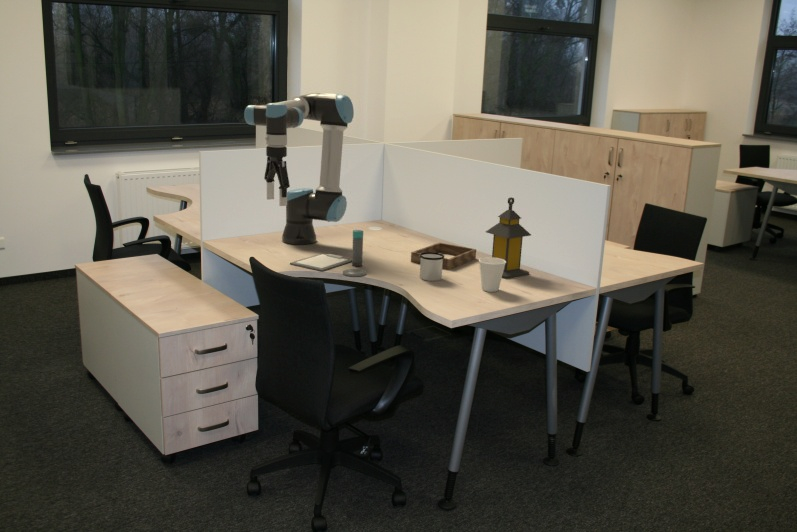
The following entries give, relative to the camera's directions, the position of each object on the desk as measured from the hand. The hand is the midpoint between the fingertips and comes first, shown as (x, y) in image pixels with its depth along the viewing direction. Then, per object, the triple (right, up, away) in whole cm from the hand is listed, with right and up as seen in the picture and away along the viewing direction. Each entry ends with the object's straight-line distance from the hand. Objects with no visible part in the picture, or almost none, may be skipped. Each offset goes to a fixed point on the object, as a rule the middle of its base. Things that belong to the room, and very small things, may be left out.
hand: (276, 202), depth 282 cm
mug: (+59, -29, +2) cm, 65 cm away
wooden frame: (+65, -22, +28) cm, 74 cm away
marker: (+30, -24, +14) cm, 41 cm away
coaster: (+29, -27, +3) cm, 40 cm away
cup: (+79, -33, -10) cm, 87 cm away
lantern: (+88, -27, +14) cm, 93 cm away
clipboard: (+15, -23, +16) cm, 32 cm away
